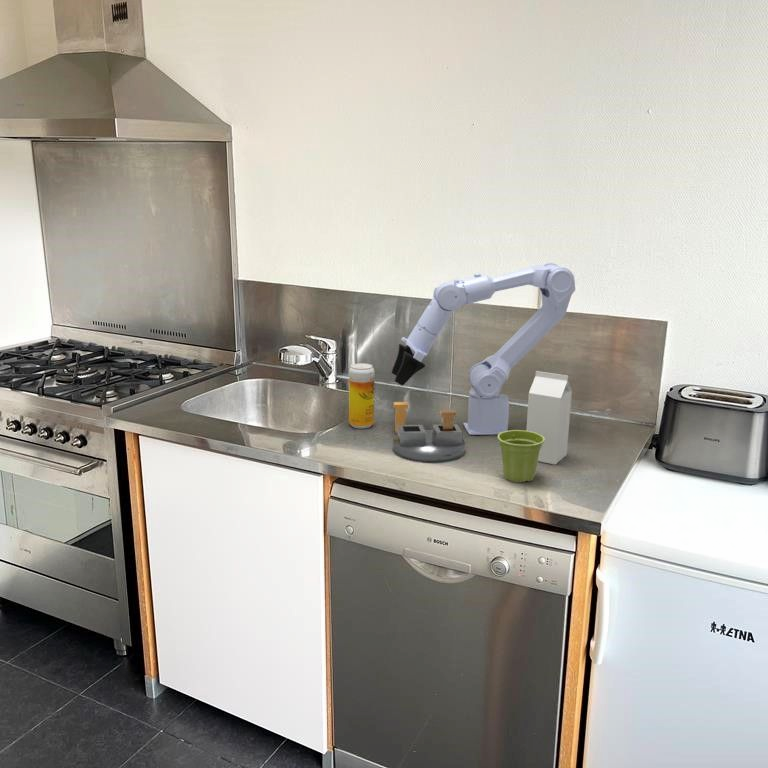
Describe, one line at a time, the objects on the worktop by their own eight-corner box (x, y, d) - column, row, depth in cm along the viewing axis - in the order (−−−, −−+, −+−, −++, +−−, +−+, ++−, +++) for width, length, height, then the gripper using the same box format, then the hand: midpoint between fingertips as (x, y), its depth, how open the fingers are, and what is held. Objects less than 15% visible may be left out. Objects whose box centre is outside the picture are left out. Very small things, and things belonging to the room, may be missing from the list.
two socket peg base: (457, 437, 179) (459, 400, 177) (471, 462, 164) (472, 422, 161) (389, 438, 178) (390, 401, 175) (396, 463, 162) (397, 423, 160)
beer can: (370, 430, 183) (371, 369, 179) (346, 428, 185) (346, 368, 181) (376, 422, 189) (376, 363, 185) (352, 420, 190) (352, 362, 186)
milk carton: (555, 465, 163) (562, 379, 158) (524, 458, 166) (529, 374, 161) (566, 455, 168) (573, 372, 163) (536, 449, 172) (541, 367, 167)
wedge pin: (406, 429, 184) (406, 402, 182) (407, 432, 182) (408, 404, 180) (393, 430, 184) (393, 402, 182) (394, 433, 182) (394, 404, 180)
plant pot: (489, 481, 154) (491, 440, 151) (502, 466, 162) (504, 427, 160) (535, 489, 150) (538, 447, 148) (546, 473, 158) (549, 433, 156)
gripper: (409, 315, 183) (379, 363, 185) (416, 327, 169) (385, 378, 171) (433, 330, 184) (404, 377, 187) (443, 342, 170) (411, 393, 173)
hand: (396, 379), depth 179 cm, fingers open, 7 cm apart
